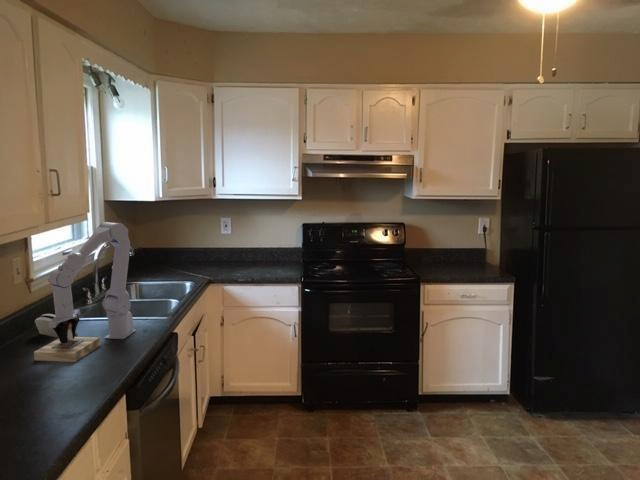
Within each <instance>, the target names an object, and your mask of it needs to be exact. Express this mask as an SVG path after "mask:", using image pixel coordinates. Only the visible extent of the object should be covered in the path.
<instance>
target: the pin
mask: <svg viewBox="0 0 640 480" xmlns="http://www.w3.org/2000/svg"><path fill="white" fill-rule="evenodd" d="M65 324H69V328H68V341H67V343H64V346H67V347H70V346H72V345H73V344H74V343H73V336H72V329H71V327H72V322H67V323H65Z"/></svg>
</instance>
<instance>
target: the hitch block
mask: <svg viewBox="0 0 640 480" xmlns="http://www.w3.org/2000/svg"><path fill="white" fill-rule="evenodd" d="M73 343H74V344H73V345H72V346H70V347H67V346H64V343H61V342H60V340H59V338H57V339H55V340H53V341H51V342H50V343H47V344H46V345H44V346H43V347H40V348H39V349H37V350H34V352H33V355H34V356H33V357H34V361H40V362H41V361H45V362H46V361H47V362H71V363H74V362H77V361H79V360H81V359H82V358H83V357H86V356H87V355H88V354H89V353H91V352H93V351H95V349H97V348H99V347H101V338H100V337H94V336H93V337H91V336H75V337H74V339H73Z"/></svg>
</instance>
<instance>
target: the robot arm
mask: <svg viewBox="0 0 640 480" xmlns="http://www.w3.org/2000/svg"><path fill="white" fill-rule="evenodd" d="M108 242H109V243H110V244H111V245H112V246H113V248H114V253H113V260H112V269H111V278H110V288H108V290H107V291H106V292H105V297H104V299H103V300H102V308H103V309H104V310H105V311H106V314H107V324H108V325H107V327H108V334H107V335H106V336H104V339H107V340H108V339H112V340H114V339H115V340H117V339H118V340H125V339H126V338H127V337H129V336H131V335H132V334H133V333H134V332H137V330H136V329H134V321H133V314H132V312H131V311H130V310H131V307H132V306H131V305H132V304H131V300H130V296H131V295H130V294H129V292H128V290H127V289H126V288H127V280H128V279H127V278H128V272H129V270H128V269H129V262H130V261H129V260H130V253H131V252H130V251H131V241H130V237H129V229H128V227H126V226H125V224H123V223H121V222H109V221H103V222H101V223H100V224H98V226H97V227H96V228H95V229H94V232H93V233H92V234H91V236H90V237H89V238H88V240H86V242H85V243H84V245H82V247H81V248H80V249H79V250H78V251H77V252H72V253H69V254H68V255H67V258H66V259H65V260H64V262H62V264H60V265H58V266H57V269H53V270H52V271H51V272H50V274H49V276H48V278H47V282H48V284H50V285H51V289H52V295H53V296H52V297H53V305H54V315H56V317H55V318H54V319H53V320H52V321H50V322H49V328H53V329H54V331H55V332H56V333H57V335H58V337H59V338H58V339H59V340H60V342H61V343H67V341H68V328H69V324H65V323H67V322H72V327H71V329H72V336H73V339H74V337H76V335H75V332H77V331H76V330H77V326H78V324H79V322H80V318H79V317H78V316H81V310H80V309H74V303H73V302H74V301H73V293H72V284H74V280H75V276H76V275H77V274H78V273H79V272H80V271H81V269H83V267H84V266H85V265H86V264H87V258H88V257H89V256H90V255H92V253H93V252H94V251H95V250H96V249H97V248H98V247H99V246H100V245H102V244H103V243H108Z"/></svg>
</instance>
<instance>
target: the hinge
mask: <svg viewBox="0 0 640 480" xmlns="http://www.w3.org/2000/svg"><path fill="white" fill-rule="evenodd" d="M55 317H56V315H55V313H54V314H53V313H44V314H42V315H40V316H39V317H36V319H35V320H34V324H35V326H36V328H37V331H38V332H39V334H40V335H44V336H49V337H52V338H53V337H54V338H57V339H59V337H58V335H57V333H56V332H55V331H54V329H53V328H49V322H50V321H52V320H53V319H54V318H55ZM75 337H79V334H78V332H77V331H75Z"/></svg>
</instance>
